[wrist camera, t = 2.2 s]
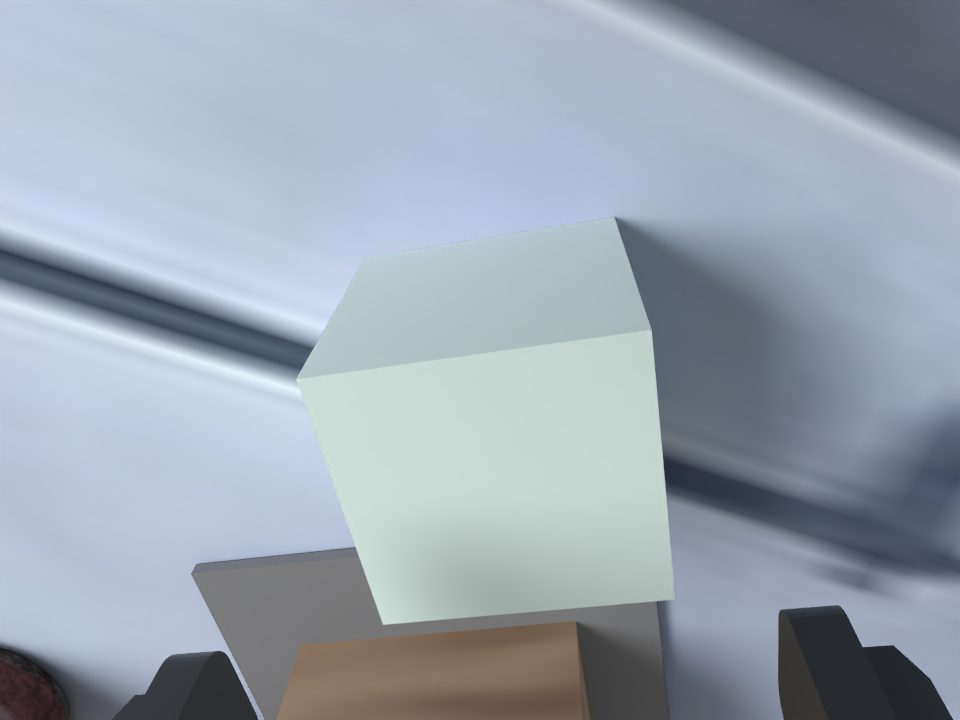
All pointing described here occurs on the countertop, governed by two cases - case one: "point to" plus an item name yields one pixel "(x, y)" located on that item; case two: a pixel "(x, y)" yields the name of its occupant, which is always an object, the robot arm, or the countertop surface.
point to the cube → (496, 426)
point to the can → (28, 691)
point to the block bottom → (443, 677)
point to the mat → (407, 628)
